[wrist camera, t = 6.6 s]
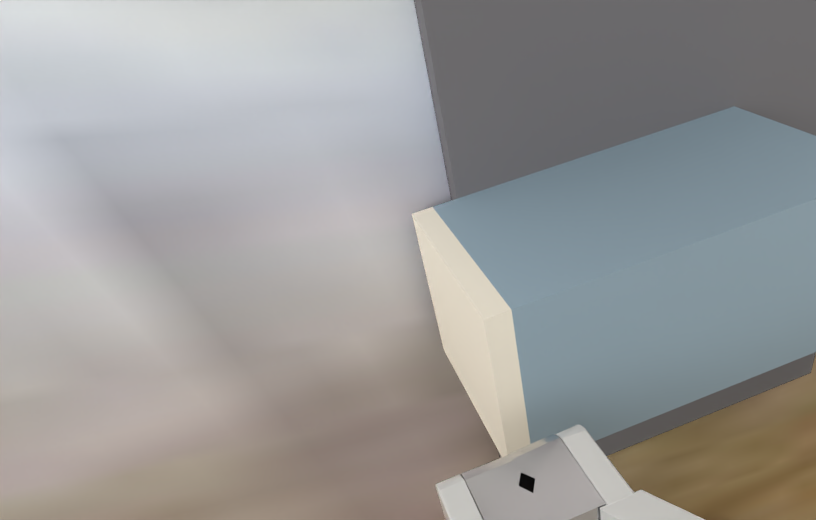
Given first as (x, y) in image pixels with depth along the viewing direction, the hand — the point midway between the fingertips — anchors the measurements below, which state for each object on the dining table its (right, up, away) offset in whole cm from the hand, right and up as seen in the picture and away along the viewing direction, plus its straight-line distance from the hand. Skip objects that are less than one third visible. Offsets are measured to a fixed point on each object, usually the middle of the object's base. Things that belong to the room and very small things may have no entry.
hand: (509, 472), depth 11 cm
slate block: (-1, +2, +4) cm, 4 cm away
